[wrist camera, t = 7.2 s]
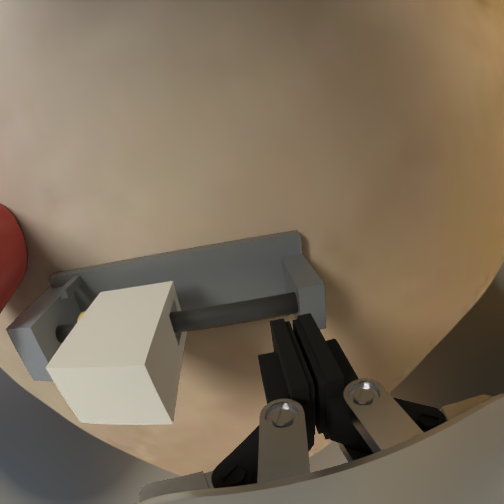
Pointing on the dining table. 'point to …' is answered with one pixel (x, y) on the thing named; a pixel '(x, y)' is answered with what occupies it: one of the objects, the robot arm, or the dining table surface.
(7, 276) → the flower pot
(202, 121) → the dining table surface
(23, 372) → the dining table surface
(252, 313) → the grey slider rail
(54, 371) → the white sliding block
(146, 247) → the dining table surface
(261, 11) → the dining table surface
